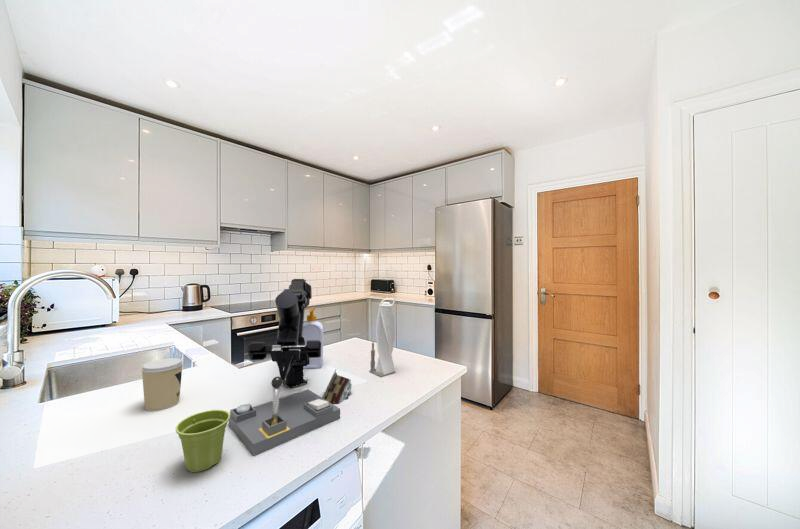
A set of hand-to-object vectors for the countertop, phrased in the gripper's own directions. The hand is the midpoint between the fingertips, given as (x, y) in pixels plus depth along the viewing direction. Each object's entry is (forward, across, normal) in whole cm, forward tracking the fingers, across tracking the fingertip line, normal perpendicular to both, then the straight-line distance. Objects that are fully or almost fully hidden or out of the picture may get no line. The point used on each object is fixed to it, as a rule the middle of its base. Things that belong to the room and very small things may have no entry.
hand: (282, 380), depth 78 cm
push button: (+6, +9, -6) cm, 12 cm away
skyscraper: (-12, -33, -27) cm, 44 cm away
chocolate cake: (0, -15, -15) cm, 21 cm away
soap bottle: (-20, -5, -37) cm, 42 cm away
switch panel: (+8, -1, -7) cm, 11 cm away
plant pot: (+17, +13, +2) cm, 22 cm away
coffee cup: (-3, +34, -21) cm, 40 cm away
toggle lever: (+11, 0, +1) cm, 11 cm away
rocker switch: (+6, -9, -3) cm, 11 cm away
